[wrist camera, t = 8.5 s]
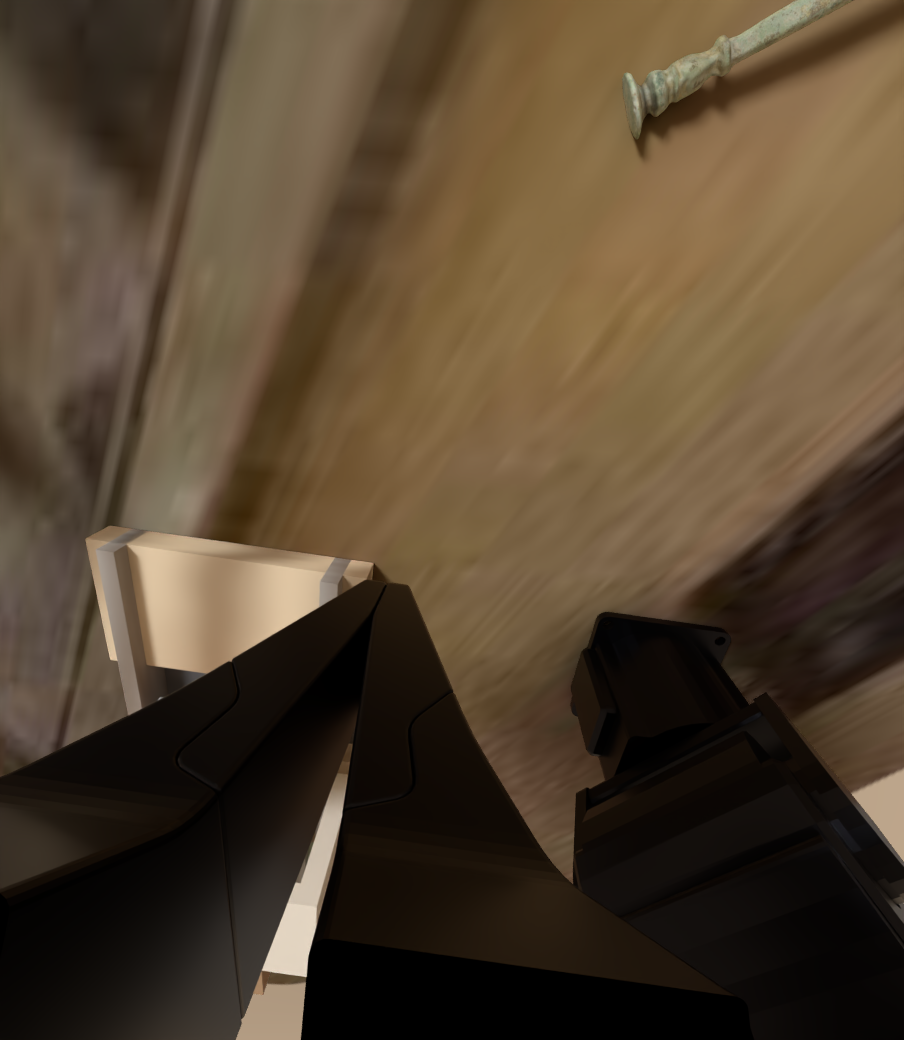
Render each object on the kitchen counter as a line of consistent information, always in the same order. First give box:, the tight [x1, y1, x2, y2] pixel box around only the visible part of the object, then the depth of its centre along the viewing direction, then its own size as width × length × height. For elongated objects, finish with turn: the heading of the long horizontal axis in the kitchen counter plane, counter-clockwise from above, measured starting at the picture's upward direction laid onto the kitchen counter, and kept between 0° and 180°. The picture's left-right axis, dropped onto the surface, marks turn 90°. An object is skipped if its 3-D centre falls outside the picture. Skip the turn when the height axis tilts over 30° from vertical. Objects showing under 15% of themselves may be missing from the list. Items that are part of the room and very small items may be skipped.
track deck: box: [86, 526, 373, 859], centre depth 26 cm, size 13×26×2 cm, turn 173°
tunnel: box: [262, 773, 348, 977], centre depth 24 cm, size 13×6×6 cm, turn 83°
